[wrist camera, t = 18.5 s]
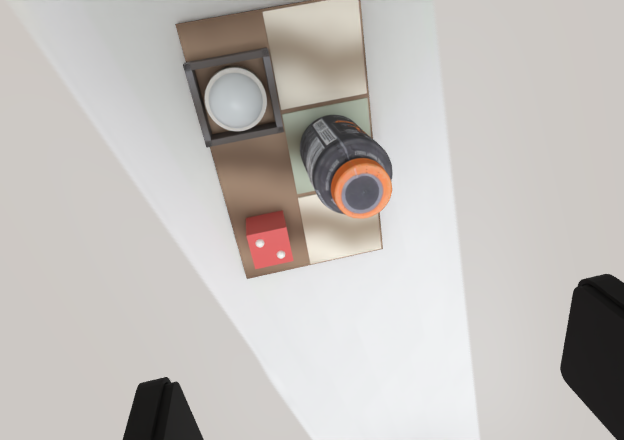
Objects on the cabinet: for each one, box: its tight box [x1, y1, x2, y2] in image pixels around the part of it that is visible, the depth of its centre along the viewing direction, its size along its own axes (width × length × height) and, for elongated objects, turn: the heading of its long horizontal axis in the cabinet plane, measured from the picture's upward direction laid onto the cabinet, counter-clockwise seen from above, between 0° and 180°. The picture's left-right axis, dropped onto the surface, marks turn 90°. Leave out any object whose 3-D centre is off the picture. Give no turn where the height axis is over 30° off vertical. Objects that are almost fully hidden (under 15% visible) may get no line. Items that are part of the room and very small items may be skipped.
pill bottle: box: [300, 115, 392, 219], centre depth 32 cm, size 6×6×11 cm
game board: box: [175, 0, 383, 279], centre depth 37 cm, size 24×14×3 cm, turn 9°
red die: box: [246, 210, 294, 269], centre depth 39 cm, size 4×4×4 cm
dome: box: [205, 66, 267, 131], centre depth 32 cm, size 5×5×4 cm
